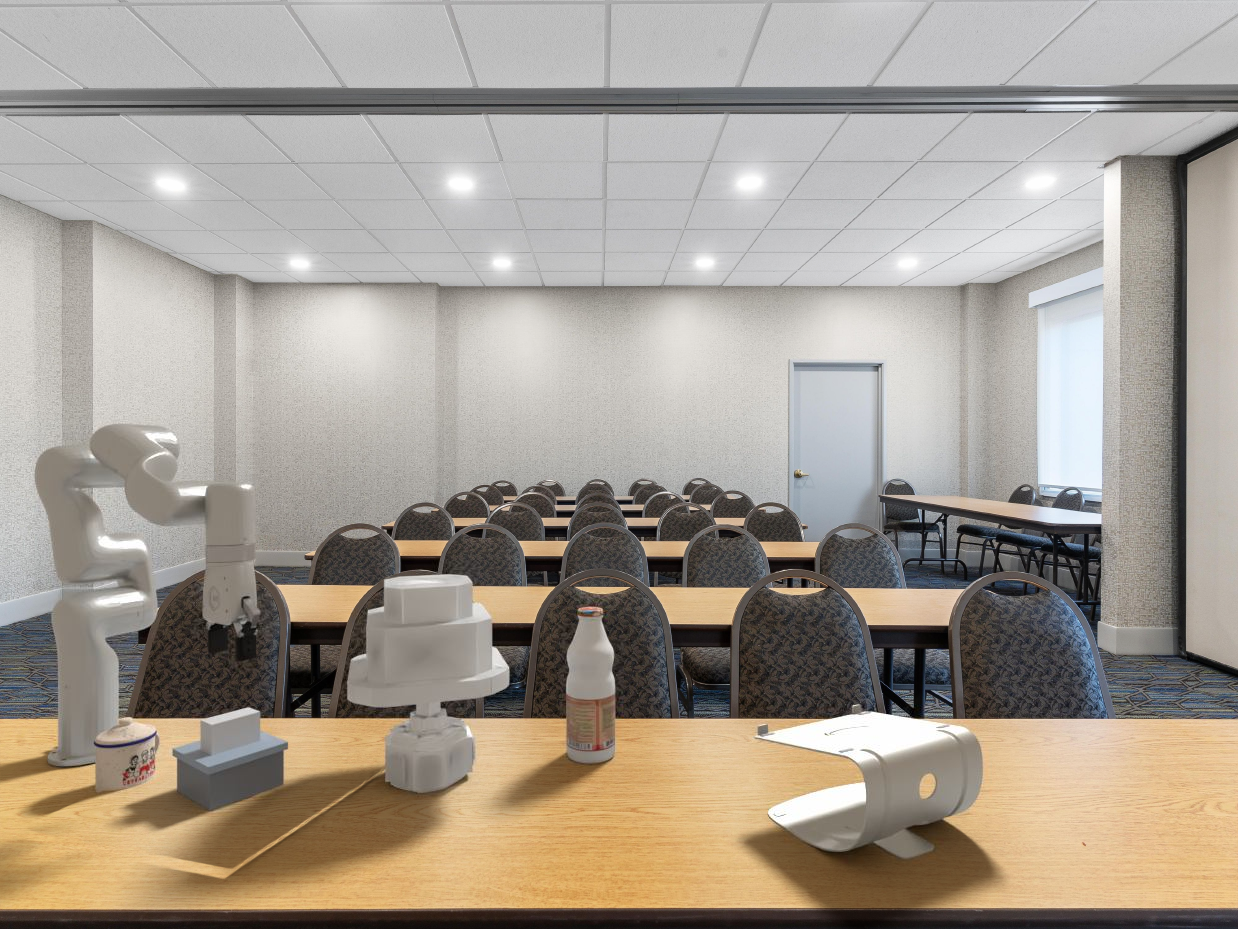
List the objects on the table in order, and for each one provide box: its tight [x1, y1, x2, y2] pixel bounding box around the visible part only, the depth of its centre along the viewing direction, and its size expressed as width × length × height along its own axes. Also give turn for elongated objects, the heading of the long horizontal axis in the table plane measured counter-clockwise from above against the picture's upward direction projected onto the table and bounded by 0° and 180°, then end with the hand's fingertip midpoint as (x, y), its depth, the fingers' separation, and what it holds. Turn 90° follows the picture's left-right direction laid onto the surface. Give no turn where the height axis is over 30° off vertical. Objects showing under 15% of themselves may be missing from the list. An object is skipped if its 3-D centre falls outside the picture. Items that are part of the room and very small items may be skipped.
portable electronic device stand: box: [754, 704, 984, 860], centre depth 112 cm, size 26×24×16 cm
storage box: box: [176, 750, 285, 812], centre depth 123 cm, size 12×12×7 cm
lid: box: [172, 706, 289, 775], centre depth 123 cm, size 13×13×6 cm
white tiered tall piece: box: [346, 573, 510, 794], centre depth 129 cm, size 27×27×35 cm
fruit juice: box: [565, 606, 616, 764], centre depth 139 cm, size 9×9×28 cm
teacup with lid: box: [94, 716, 161, 794], centre depth 128 cm, size 12×9×12 cm
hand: (231, 655), depth 123 cm, fingers open, 9 cm apart
